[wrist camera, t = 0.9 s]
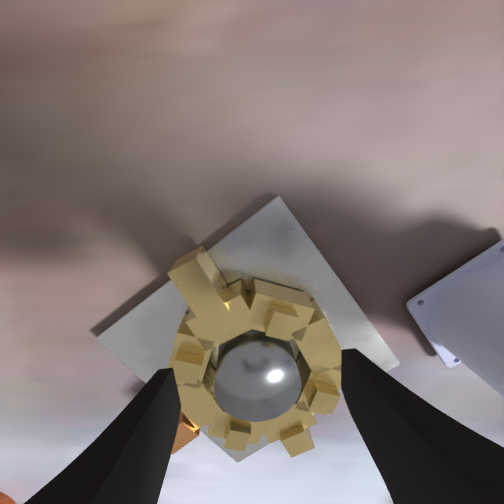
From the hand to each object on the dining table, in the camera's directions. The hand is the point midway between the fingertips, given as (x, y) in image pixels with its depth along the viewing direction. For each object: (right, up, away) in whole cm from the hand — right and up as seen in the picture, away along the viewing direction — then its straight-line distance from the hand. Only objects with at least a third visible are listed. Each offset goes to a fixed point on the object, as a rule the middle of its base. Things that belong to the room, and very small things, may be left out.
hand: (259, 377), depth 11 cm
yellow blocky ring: (0, -3, +10) cm, 10 cm away
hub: (0, -3, +11) cm, 11 cm away
